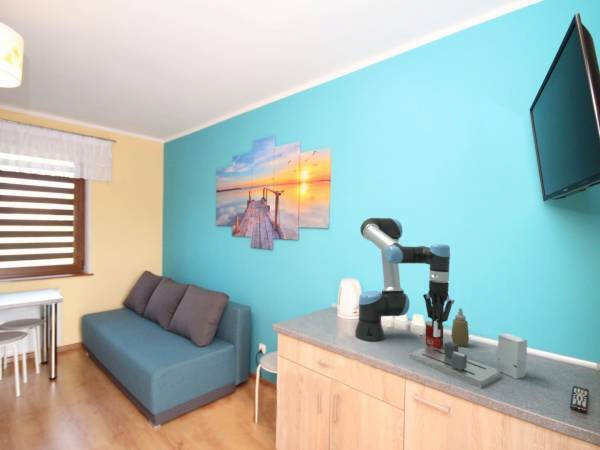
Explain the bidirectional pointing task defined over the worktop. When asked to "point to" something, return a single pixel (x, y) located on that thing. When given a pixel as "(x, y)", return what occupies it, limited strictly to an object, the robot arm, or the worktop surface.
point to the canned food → (430, 338)
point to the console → (442, 362)
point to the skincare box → (511, 355)
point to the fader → (458, 360)
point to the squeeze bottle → (460, 329)
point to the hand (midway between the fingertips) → (436, 336)
